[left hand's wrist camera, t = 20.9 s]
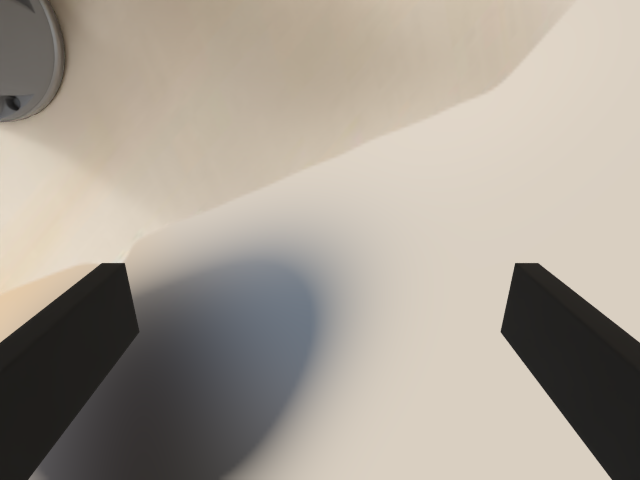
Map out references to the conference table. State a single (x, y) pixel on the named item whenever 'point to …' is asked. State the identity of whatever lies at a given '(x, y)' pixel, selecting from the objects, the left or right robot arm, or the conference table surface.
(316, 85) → the conference table surface
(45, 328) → the left robot arm
